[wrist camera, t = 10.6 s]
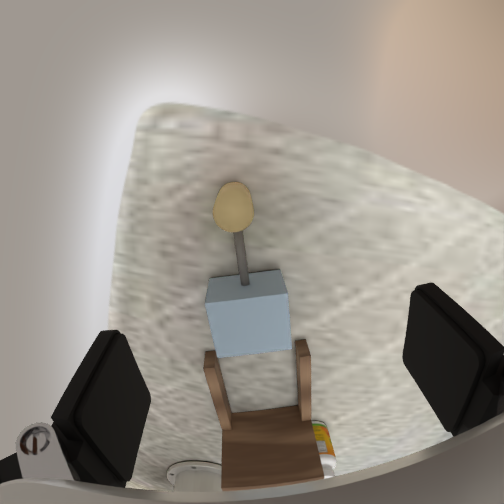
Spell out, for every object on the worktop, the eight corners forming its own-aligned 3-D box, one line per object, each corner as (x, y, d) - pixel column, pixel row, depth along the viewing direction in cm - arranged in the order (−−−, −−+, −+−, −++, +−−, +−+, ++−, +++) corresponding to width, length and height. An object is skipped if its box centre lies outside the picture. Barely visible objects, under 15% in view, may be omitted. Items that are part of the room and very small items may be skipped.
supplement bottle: (323, 438, 42) (336, 487, 32) (289, 442, 41) (298, 493, 32) (329, 417, 40) (344, 470, 31) (293, 421, 39) (303, 477, 30)
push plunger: (284, 320, 33) (292, 353, 28) (219, 328, 33) (216, 362, 28) (270, 177, 28) (278, 186, 22) (193, 187, 28) (183, 199, 22)
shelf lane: (307, 409, 39) (323, 480, 27) (224, 419, 39) (223, 491, 27) (305, 339, 34) (330, 419, 23) (205, 351, 34) (195, 434, 23)
